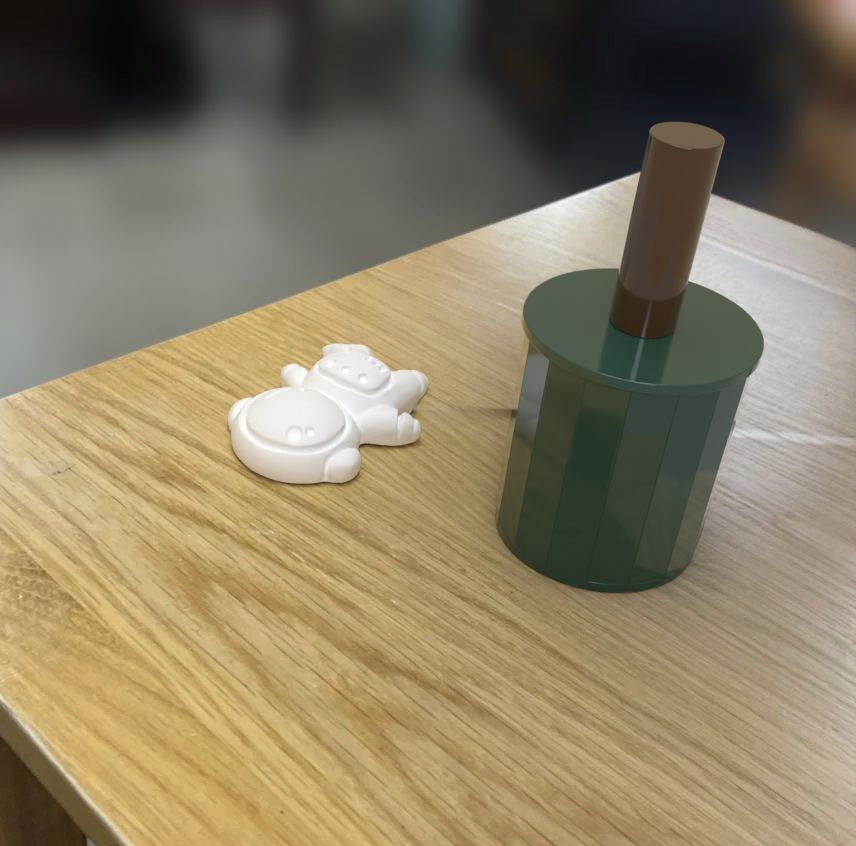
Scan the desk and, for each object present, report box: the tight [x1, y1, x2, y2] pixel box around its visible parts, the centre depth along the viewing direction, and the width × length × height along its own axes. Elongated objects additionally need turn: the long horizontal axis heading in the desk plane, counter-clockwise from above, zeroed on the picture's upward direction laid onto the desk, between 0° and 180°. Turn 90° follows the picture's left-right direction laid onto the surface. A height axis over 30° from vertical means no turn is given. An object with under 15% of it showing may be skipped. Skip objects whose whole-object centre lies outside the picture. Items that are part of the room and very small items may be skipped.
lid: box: [521, 121, 765, 396], centre depth 49 cm, size 10×10×9 cm
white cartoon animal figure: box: [227, 342, 430, 484], centre depth 63 cm, size 9×12×3 cm
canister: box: [495, 333, 752, 593], centre depth 55 cm, size 9×9×10 cm
